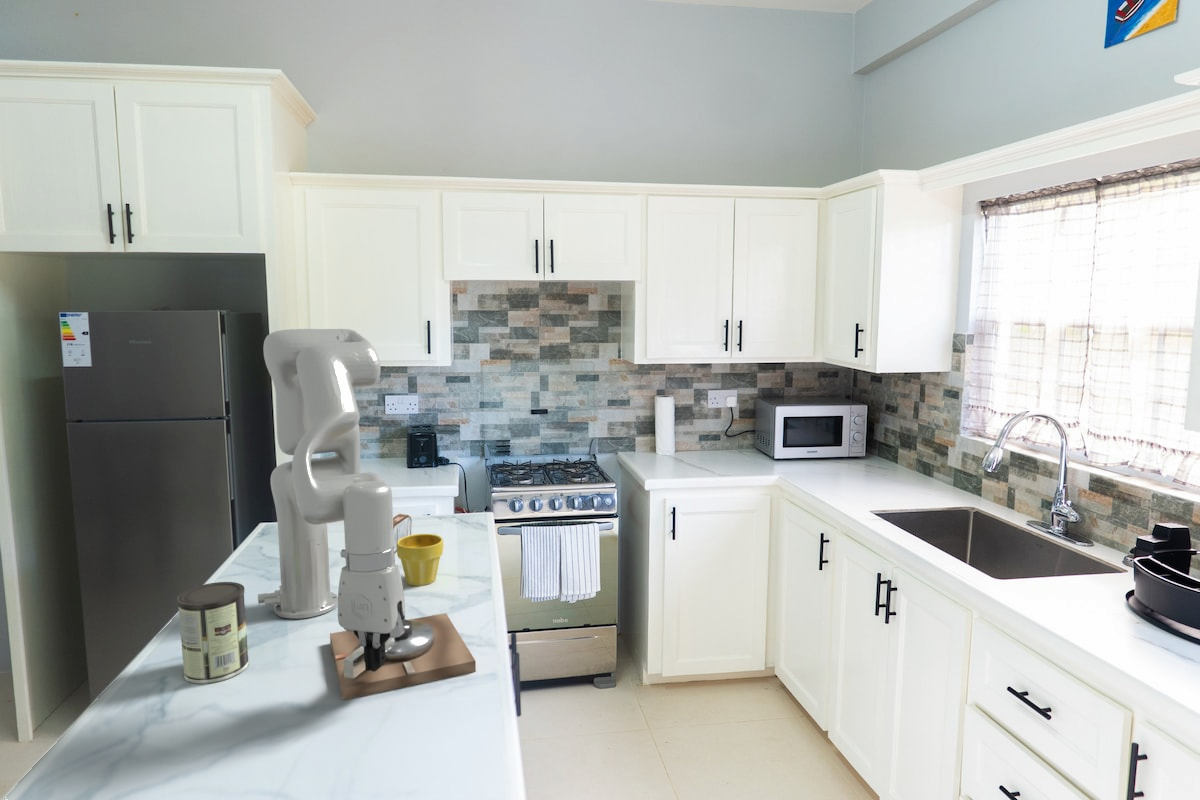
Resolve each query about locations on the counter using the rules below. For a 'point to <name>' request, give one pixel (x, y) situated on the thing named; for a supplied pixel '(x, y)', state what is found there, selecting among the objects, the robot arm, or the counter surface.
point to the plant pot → (420, 557)
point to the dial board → (405, 661)
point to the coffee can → (213, 632)
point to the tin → (401, 528)
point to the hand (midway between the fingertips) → (375, 667)
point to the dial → (395, 647)
